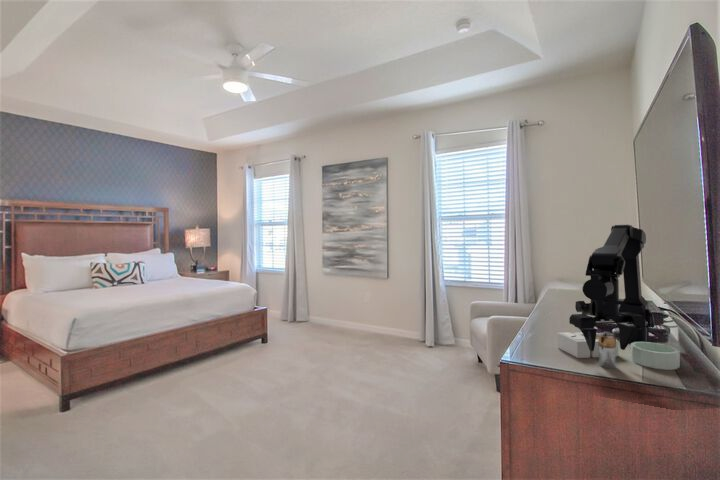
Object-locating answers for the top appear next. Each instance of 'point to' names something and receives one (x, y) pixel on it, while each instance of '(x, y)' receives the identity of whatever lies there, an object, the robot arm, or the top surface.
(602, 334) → the battery cell
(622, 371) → the top surface
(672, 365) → the cup
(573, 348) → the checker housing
